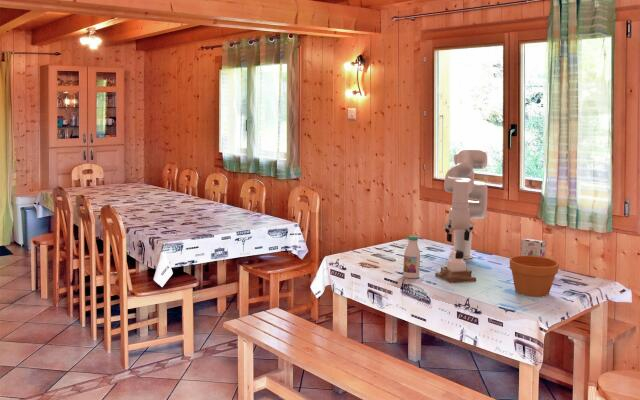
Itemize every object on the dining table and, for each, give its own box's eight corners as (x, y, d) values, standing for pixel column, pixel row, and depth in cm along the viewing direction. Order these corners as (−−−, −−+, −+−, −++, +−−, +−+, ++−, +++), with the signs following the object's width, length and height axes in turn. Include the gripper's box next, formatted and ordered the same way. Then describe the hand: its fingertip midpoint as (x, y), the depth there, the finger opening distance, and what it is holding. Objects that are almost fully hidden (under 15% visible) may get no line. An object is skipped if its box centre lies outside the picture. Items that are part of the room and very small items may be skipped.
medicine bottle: (460, 273, 315) (462, 249, 314) (465, 277, 308) (466, 252, 307) (446, 273, 315) (447, 249, 313) (450, 277, 308) (452, 252, 306)
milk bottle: (409, 274, 317) (411, 234, 314) (422, 277, 312) (424, 236, 309) (399, 276, 312) (401, 235, 309) (412, 279, 306) (414, 238, 304)
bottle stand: (435, 275, 315) (435, 266, 315) (459, 273, 321) (460, 264, 320) (451, 282, 303) (451, 273, 302) (476, 280, 308) (476, 271, 307)
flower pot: (544, 302, 276) (547, 268, 274) (499, 292, 289) (501, 260, 287) (563, 293, 291) (566, 261, 289) (519, 283, 305) (522, 253, 303)
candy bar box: (544, 272, 329) (546, 241, 326) (539, 274, 325) (542, 242, 323) (523, 268, 336) (525, 237, 334) (519, 269, 332) (521, 238, 330)
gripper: (470, 203, 313) (468, 238, 316) (440, 205, 307) (438, 240, 310) (479, 206, 306) (477, 241, 309) (448, 208, 300) (446, 243, 303)
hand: (457, 240), depth 310 cm, fingers open, 9 cm apart
